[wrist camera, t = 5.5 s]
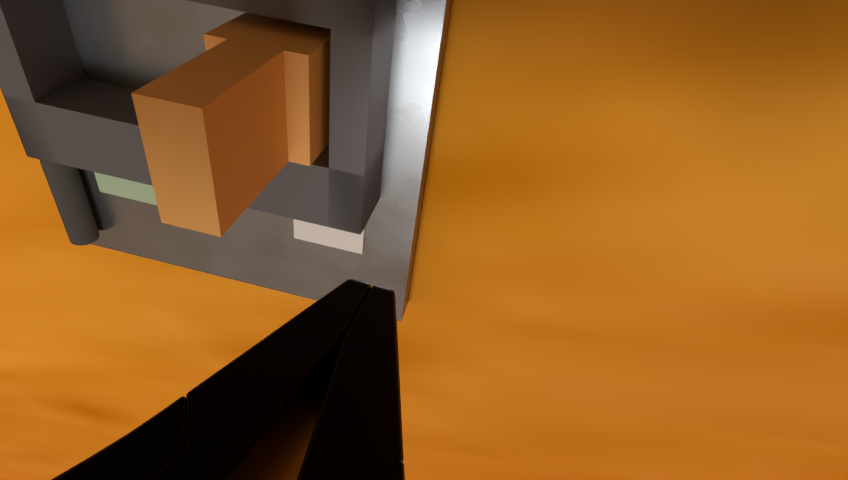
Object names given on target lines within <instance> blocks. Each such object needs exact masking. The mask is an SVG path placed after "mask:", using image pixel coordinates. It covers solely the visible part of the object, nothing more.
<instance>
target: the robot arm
mask: <svg viewBox="0 0 848 480" xmlns="http://www.w3.org/2000/svg"><path fill="white" fill-rule="evenodd" d="M52 480H405V475H404V464H403V439H402V419H401V399H400V379H399V358H398V338H397V318H396V298H395V292H394V290H392V289H388V288H385V287H381V286H377V285H374V286H372V287H371V285H370V284H369V283H366V282H362V281H358V280H355V279H348V280H346V281H345V282H343V283H342V284H340V285H339V286H338V287H336V288H335V289H333V290H332V291H331V292H329V293H328V294H326V295H325V296H324V297H322V298H321V299H319V300H318V301H316V302H315V303H314V304H312V305H311V306H309V307H308V308H307V309H305V310H304V311H302V312H301V313H300V314H298V315H297V316H295V317H294V318H293V319H291V320H290V321H288V322H287V323H285V324H284V325H283V326H281V327H280V328H278V329H277V330H276V331H274V332H273V333H271V334H270V335H269V336H267V337H266V338H264V339H263V340H261V341H260V342H259V343H257V344H256V345H254V346H253V347H252V348H250V349H249V350H247V351H246V352H245V353H243V354H242V355H240V356H239V357H237V358H236V359H235V360H233V361H232V362H230V363H229V364H228V365H226V366H225V367H223V368H222V369H221V370H219V371H218V372H216V373H215V374H213V375H212V376H211V377H209V378H208V379H206V380H205V381H204V382H202V383H201V384H199V385H198V386H197V387H195V388H194V389H192V390H191V391H190V392H188V393H187V395H186V397H184V396H183V397H181V398H179V399H178V400H176V401H175V402H174V403H172V404H171V405H169V406H168V407H167V408H165V409H164V410H162V411H161V412H159V413H158V414H156V415H155V416H154V417H152V418H151V419H149V420H148V421H146V422H145V423H143V424H142V425H140V426H139V427H137V428H136V429H134V430H133V431H131V432H130V433H128V434H127V435H125V436H123V437H122V438H120V439H119V440H117V441H115V442H114V443H112V444H110V445H109V446H107V447H105V448H104V449H102V450H101V451H99V452H97V453H96V454H94V455H92V456H91V457H89V458H88V459H86V460H84V461H82V462H81V463H79V464H77V465H76V466H74V467H72V468H70V469H69V470H67V471H65V472H64V473H62V474H60V475H58V476H57V477H55V478H53V479H52Z"/></svg>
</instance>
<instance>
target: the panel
mask: <svg viewBox="0 0 848 480" xmlns="http://www.w3.org/2000/svg"><path fill="white" fill-rule="evenodd" d="M63 3H64V6H65V10H66V13H67V17H68V20H69V24H70V27H71V31H72V34H73V38H74V41H75V45H76V48H77V52H78V55H79V59H80V62H81V66H82V69H83V73H84V77H85V79H90V80H94V81H99V82H104V83H108V84H113V85H117V86H122V87H127V88H131V89H136V90H137V89H139V88H141V87H143V86H145V85H146V84H148V83H150V82H152V81H154V80H155V79H157V78H159V77H161V76H162V75H164V74H166V73H168V72H170V71H171V70H173V69H175V68H177V67H179V66H180V65H182V64H184V63H186V62H187V61H189V60H191V59H193V58H195V57H196V56H198V55H200V54H202V53H204V52H205V51H206V49H205V42H204V34H205V33H207V32H209V31H211V30H212V29H214V28H216V27H218V26H220V25H222V24H224V23H226V22H228V21H230V20H232V19H234V18H236V17H238V16H240V15H242V14H244V13H246V12H242V11H237V10H232V9H227V8H222V7H217V6H212V5H207V4H202V3H197V2H192V1H187V0H63ZM451 4H452V0H397V3H396V15H395V27H394V38H393V50H392V62H391V73H390V85H389V97H388V108H387V120H386V132H385V143H384V155H383V167H382V178H381V190H380V199H379V201H378V203H377V205H376V207H375V209H374V211H373V213H372V214H371V216H370V218H369V220H368V222H367V224H366V226H365V238H364V252H363V254H359V253H355V252H350V251H346V250H342V249H338V248H334V247H329V246H325V245H321V244H317V243H313V242H308V241H304V240H300V239H296V238H294V222H293V219H292V218H287V217H283V216H279V215H275V214H270V213H266V212H262V211H258V210H253V209H249V208H247V209H246V210H245V211H244V212H243V213H242V214H241V215H240V216H239V218H238V219H237V220H236V221H235V222H234V223H233V224H232V225H231V227H230V228H229V229H228V230H227V231H226V232H225V233H224V234H223V236H222V237H219V236H215V235H210V234H206V233H202V232H198V231H194V230H190V229H186V228H182V227H177V226H173V225H169V224H165V223H161V219H160V215H159V210H158V206H157V205H153V204H149V203H145V202H141V201H137V200H133V199H128V198H124V197H120V196H116V195H112V194H107V193H103V192H100V190H99V187H98V184H97V181H96V177H95V174H94V172H92V171H88V170H83V169H79V168H78V170H79V173H80V176H81V179H82V182H83V185H84V188H85V191H86V194H87V197H88V200H89V203H90V207H91V210H92V213H93V216H94V219H95V222H96V225H97V228H98V231H99V234H100V236H99V238H98V239H97V240H96V241H95V242H93V243H91V244H93V245H97V246H101V247H105V248H109V249H113V250H117V251H121V252H125V253H129V254H133V255H137V256H141V257H145V258H149V259H153V260H157V261H161V262H165V263H169V264H173V265H177V266H181V267H185V268H189V269H193V270H197V271H201V272H205V273H209V274H213V275H217V276H221V277H225V278H229V279H233V280H237V281H241V282H245V283H249V284H253V285H257V286H261V287H265V288H269V289H273V290H277V291H281V292H285V293H289V294H293V295H297V296H301V297H305V298H309V299H313V300H319V299H321V298H322V297H324V296H325V295H326V294H328V293H329V292H331V291H332V290H333V289H335V288H336V287H338V286H339V285H340V284H342V283H343V282H345V281H346V280H348V279H355V280H358V281H362V282H366V283H369V284H370V285H371V287H372V286H374V285H377V286H381V287H385V288H388V289H392V290H394V292H395V298H396V318H397V320H398V321H402V318H403V315H404V312H405V309H406V306H407V303H408V296H409V290H410V283H411V276H412V269H413V262H414V256H415V249H416V242H417V235H418V228H419V222H420V215H421V208H422V201H423V194H424V188H425V181H426V174H427V167H428V160H429V154H430V147H431V140H432V133H433V126H434V119H435V113H436V106H437V99H438V92H439V85H440V79H441V72H442V65H443V58H444V51H445V45H446V38H447V31H448V24H449V17H450V11H451Z"/></svg>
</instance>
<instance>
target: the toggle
mask: <svg viewBox="0 0 848 480" xmlns="http://www.w3.org/2000/svg"><path fill="white" fill-rule="evenodd" d="M330 41H331V29H328V28H323V27H318V26H313V25H308V24H303V23H298V22H293V21H288V20H283V19H277V18H272V17H267V16H262V15H257V14H252V13H247V12H246V13H244V14H242V15H240V16H238V17H236V18H234V19H232V20H230V21H228V22H226V23H224V24H222V25H220V26H218V27H216V28H214V29H212V30H211V31H209V32H207V33H205V34H204V42H205V49H206V51H205V52H204V53H202V54H200V55H198V56H196V57H195V58H193V59H191V60H189V61H187V62H186V63H184V64H182V65H180V66H179V67H177V68H175V69H173V70H171V71H170V72H168V73H166V74H164V75H162V76H161V77H159V78H157V79H155V80H154V81H152V82H150V83H148V84H146V85H145V86H143V87H141V88H139V89H137V90H136V91H134V92H132V93H131V94H132V99H133V103H134V107H135V112H136V116H137V120H138V124H139V129H140V133H141V137H142V142H143V146H144V150H145V154H146V159H147V163H148V167H149V172H150V176H151V180H152V185H153V189H154V193H155V197H156V202H157V206H158V210H159V215H160V219H161V223H165V224H169V225H173V226H177V227H182V228H186V229H190V230H194V231H198V232H202V233H206V234H210V235H215V236H219V237H222V236H223V234H224V233H225V232H226V231H227V230H228V229H229V228H230V227H231V225H232V224H233V223H234V222H235V221H236V220H237V219H238V218H239V216H240V215H241V214H242V213H243V212H244V211H245V210H246V209H247V207H248V206H249V205H250V204H251V203H252V202H253V201H254V200H255V198H256V197H257V196H258V195H259V194H260V193H261V192H262V191H263V189H264V188H265V187H266V186H267V185H268V184H269V183H270V182H271V180H272V179H273V178H274V177H275V176H276V175H277V174H278V173H279V171H280V170H281V169H282V168H283V167H284V166H285V165H286V164H287V162H288V161H289V162H293V163H297V164H302V165H306V166H311V164H312V163H313V162H314V161H315V159H316V158H317V157H318V156H319V155H320V153H321V152H322V151H323V150H324V148H325V147H326V146H327V145H328V143H329V119H330Z"/></svg>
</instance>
